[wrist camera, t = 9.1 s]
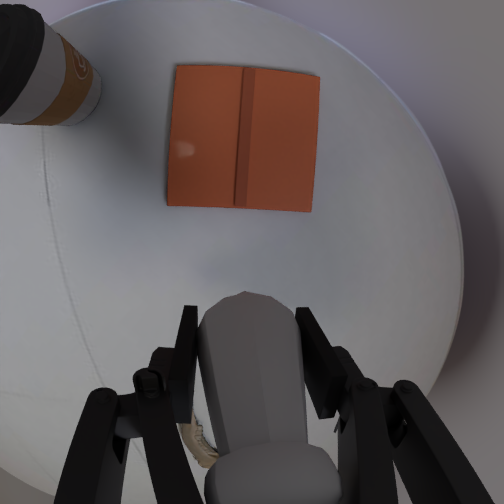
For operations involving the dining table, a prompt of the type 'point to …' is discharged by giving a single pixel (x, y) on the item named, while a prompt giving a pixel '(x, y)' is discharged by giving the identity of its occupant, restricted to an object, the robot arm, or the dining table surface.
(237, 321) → the salt shaker
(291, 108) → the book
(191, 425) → the curved driftwood piece
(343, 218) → the dining table surface
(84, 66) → the coffee cup
